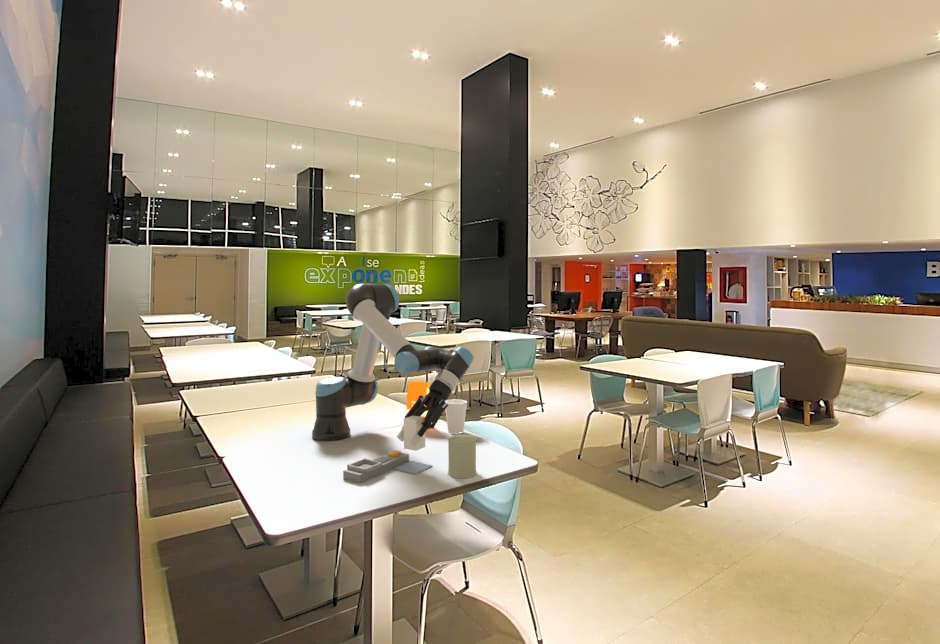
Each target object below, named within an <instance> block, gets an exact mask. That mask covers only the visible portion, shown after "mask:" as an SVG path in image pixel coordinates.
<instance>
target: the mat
mask: <svg viewBox="0 0 940 644" xmlns="http://www.w3.org/2000/svg"><path fill="white" fill-rule="evenodd" d="M432 467H433V465H431V464H428V463H423V462H418V461H414V460H409V462H406V463H404V464H402V465H400V466H397V467H395V468H393V470H395V471H398V472H403V473H408V474H411V475H418V474H420V473H422V472H424V471H427V470H428V469H430V468H432Z"/></svg>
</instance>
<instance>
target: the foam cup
mask: <svg viewBox="0 0 940 644" xmlns="http://www.w3.org/2000/svg"><path fill="white" fill-rule="evenodd" d="M445 402H446V403H447V404H448V407H447V408H446V409H445V410H444V411H445V417H446V418H445V419H446V424H447V432H448V434H450V433H459V432H463V433H464V430H465V425H466V424H465V423H466V421H465V420H466V414H467V408H468V401H467V400H466V399H460V398H459V399H458V398H456V399H447V400H446V401H445Z"/></svg>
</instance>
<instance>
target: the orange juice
mask: <svg viewBox="0 0 940 644" xmlns="http://www.w3.org/2000/svg"><path fill="white" fill-rule="evenodd" d="M429 387H430V383H429V382H428V381H426V382H425V381H408V388H407V393H406V414H407V413H408V412H409V410H410V409H411V408H412V407H413V405H414V404H415V403H416V401H417V400H418V398H419V396H420V395H422V396H426V395H427V394H428V393H429ZM424 406H425V404H424ZM425 407H426V406H425ZM427 412H428V411H425V412H424V413H423V414H422V415H421V416H420V417H426V414H427Z"/></svg>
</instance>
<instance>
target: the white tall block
mask: <svg viewBox="0 0 940 644" xmlns="http://www.w3.org/2000/svg"><path fill="white" fill-rule="evenodd" d="M424 419H425V417H419V416H410V417H407V418H405V417H404V418H403V426H404V441H403V449H405V450H409V451H410V450H411V451H414V452H417V451H419V450H421V449H424V448H425V447H426V432H425V433H424V435H423V436H422V437H421V438H420V439H419V441H418V442H417V444H416V445H415V446H414V445H412V444H411V443H410V442H409V440H410V438H411V437H412V436H413V434H414V433H415V431H416V430H417V428H418V427H419V425H420V424H421V422H423V421H424ZM421 425H422V424H421ZM422 426H423V425H422Z"/></svg>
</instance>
